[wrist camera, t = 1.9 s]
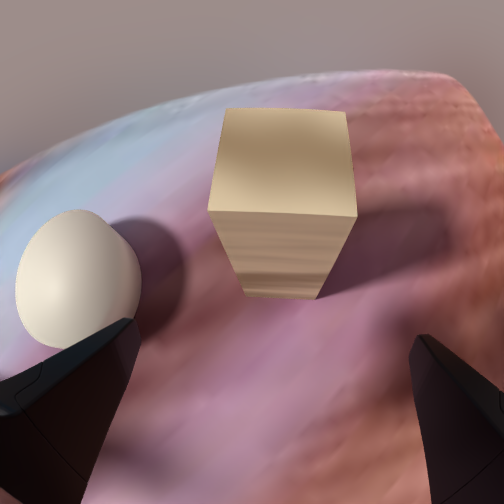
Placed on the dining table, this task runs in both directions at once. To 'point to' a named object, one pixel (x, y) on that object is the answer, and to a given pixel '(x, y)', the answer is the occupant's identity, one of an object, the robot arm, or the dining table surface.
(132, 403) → the dining table surface
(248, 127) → the maple block
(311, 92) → the dining table surface
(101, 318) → the cream plinth
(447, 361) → the robot arm
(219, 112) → the dining table surface
